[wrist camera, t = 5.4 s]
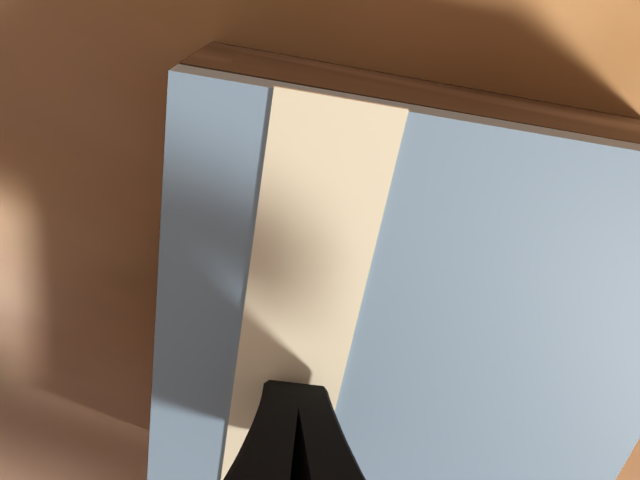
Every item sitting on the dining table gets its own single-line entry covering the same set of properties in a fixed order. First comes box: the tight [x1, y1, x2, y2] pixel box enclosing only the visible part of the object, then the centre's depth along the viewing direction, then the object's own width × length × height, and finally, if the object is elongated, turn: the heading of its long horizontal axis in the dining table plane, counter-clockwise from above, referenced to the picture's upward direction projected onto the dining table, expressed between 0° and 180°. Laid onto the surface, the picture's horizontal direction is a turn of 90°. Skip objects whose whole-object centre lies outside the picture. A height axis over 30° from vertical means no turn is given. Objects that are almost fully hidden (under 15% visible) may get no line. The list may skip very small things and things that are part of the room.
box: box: [180, 42, 640, 144], centre depth 15 cm, size 14×12×4 cm
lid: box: [147, 64, 640, 480], centre depth 13 cm, size 14×12×1 cm
